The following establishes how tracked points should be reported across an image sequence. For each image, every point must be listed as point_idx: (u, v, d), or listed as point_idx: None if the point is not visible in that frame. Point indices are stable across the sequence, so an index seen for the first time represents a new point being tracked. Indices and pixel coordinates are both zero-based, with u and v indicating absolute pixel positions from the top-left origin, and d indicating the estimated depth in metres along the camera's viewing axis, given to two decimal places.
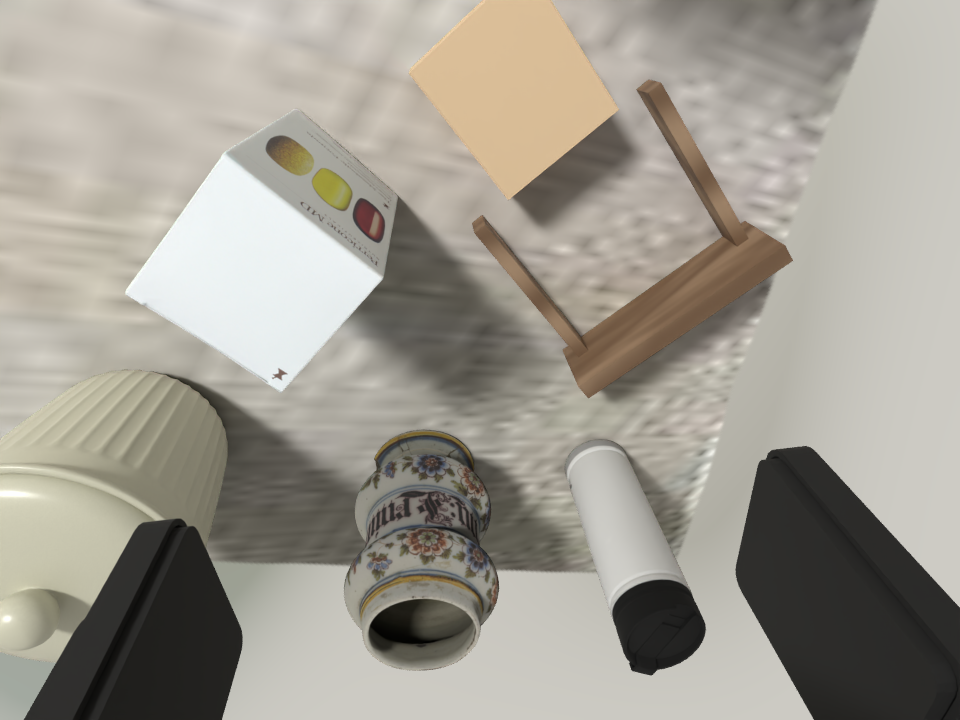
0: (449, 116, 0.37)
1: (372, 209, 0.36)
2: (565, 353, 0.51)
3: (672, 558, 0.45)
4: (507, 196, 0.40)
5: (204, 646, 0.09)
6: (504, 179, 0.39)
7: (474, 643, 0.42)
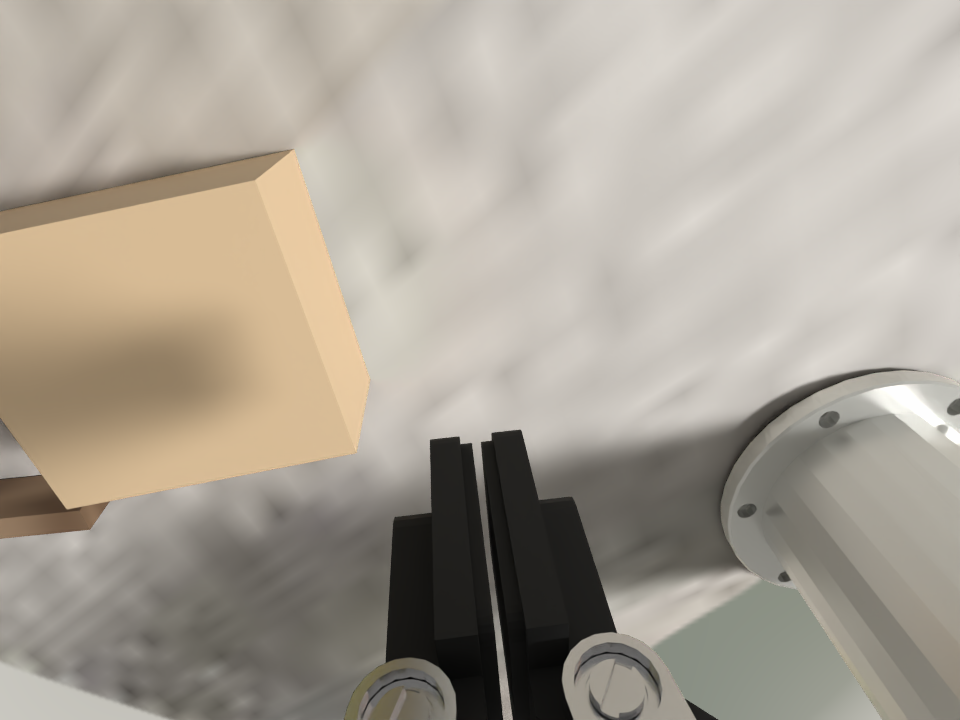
0: (132, 219, 0.15)
1: None
2: None
3: None
4: None
5: None
6: None
7: None
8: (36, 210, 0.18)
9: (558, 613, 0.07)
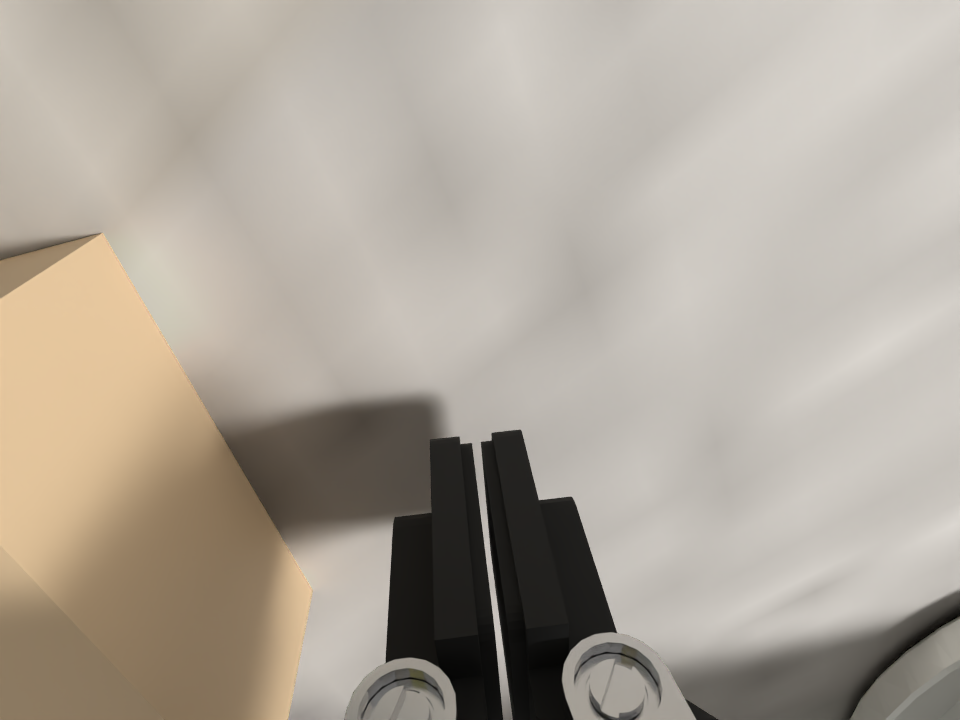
0: None
1: None
2: None
3: None
4: None
5: None
6: None
7: None
8: None
9: (558, 613, 0.07)
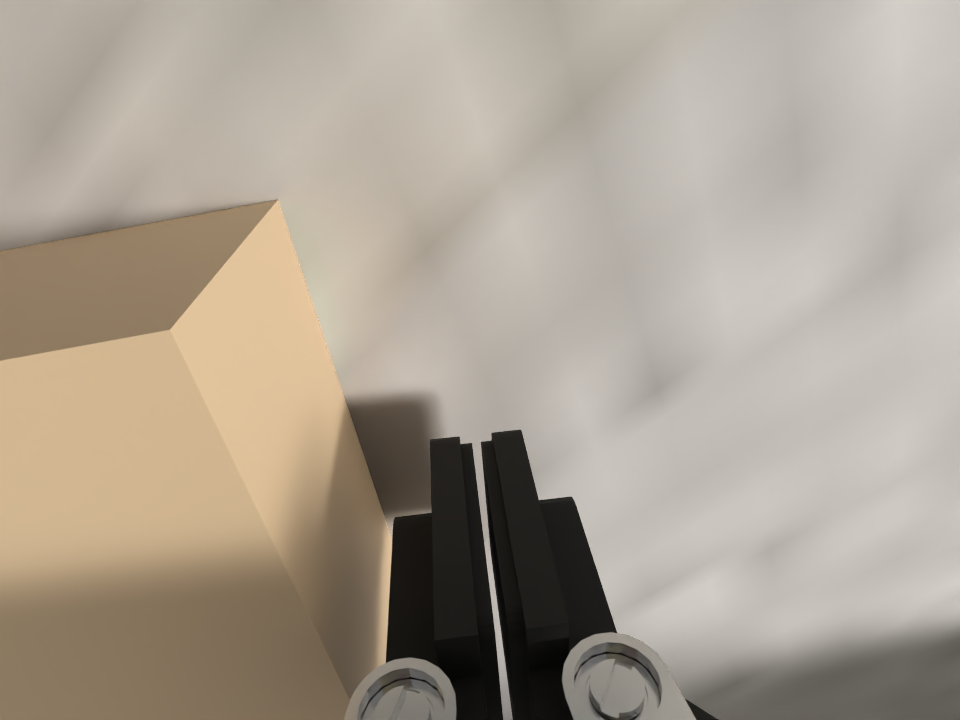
0: None
1: None
2: None
3: None
4: None
5: None
6: None
7: None
8: None
9: (558, 613, 0.07)
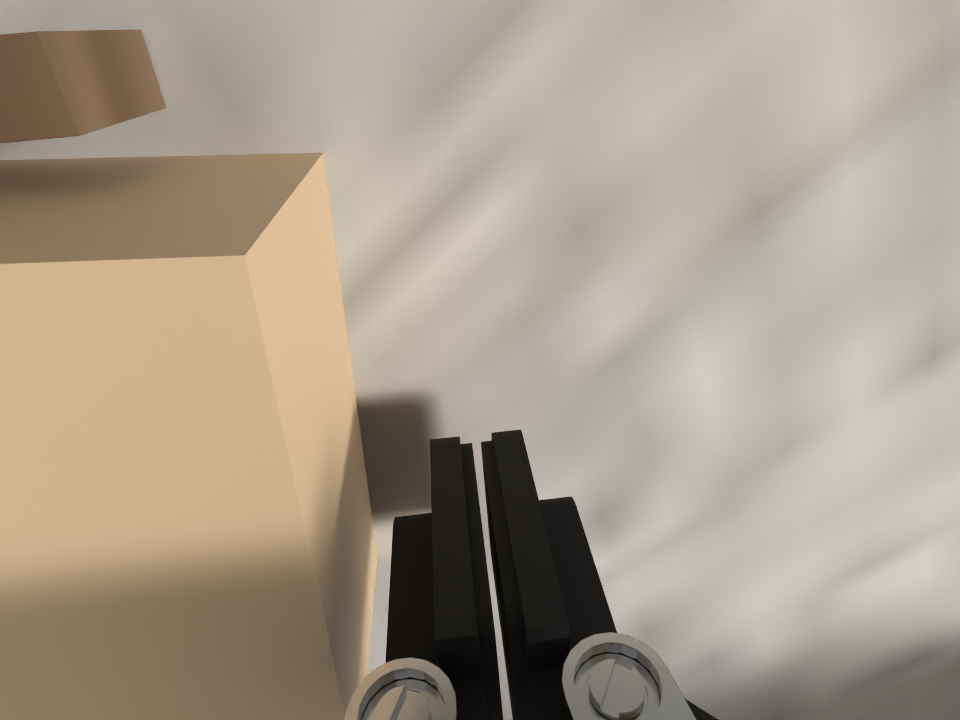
0: None
1: None
2: None
3: None
4: None
5: None
6: None
7: None
8: None
9: (558, 613, 0.07)
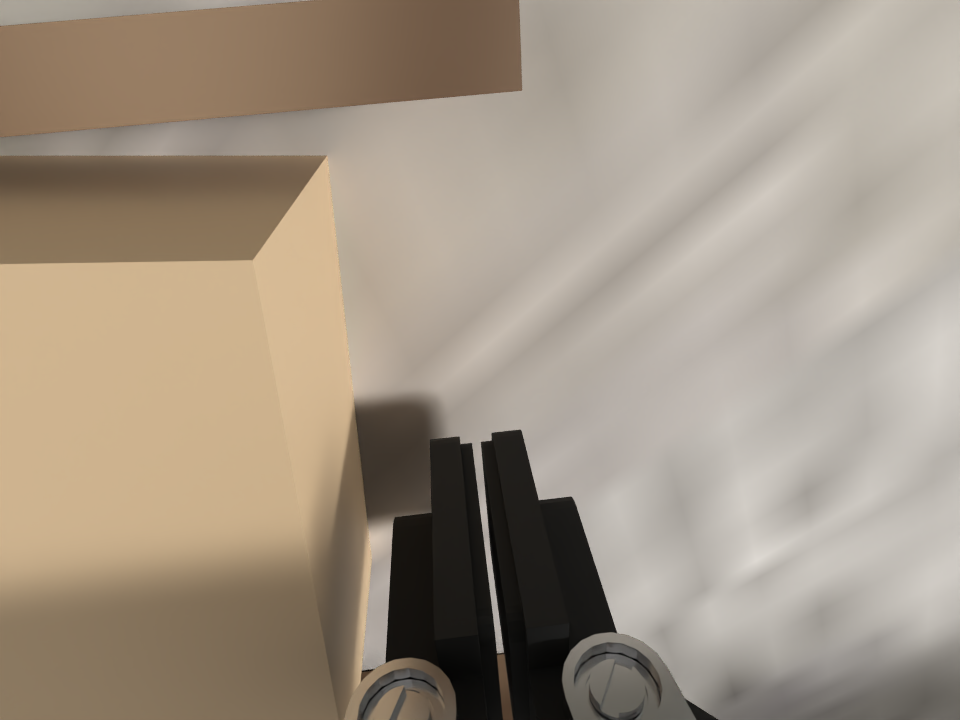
0: None
1: None
2: None
3: None
4: None
5: None
6: None
7: None
8: None
9: (558, 613, 0.07)
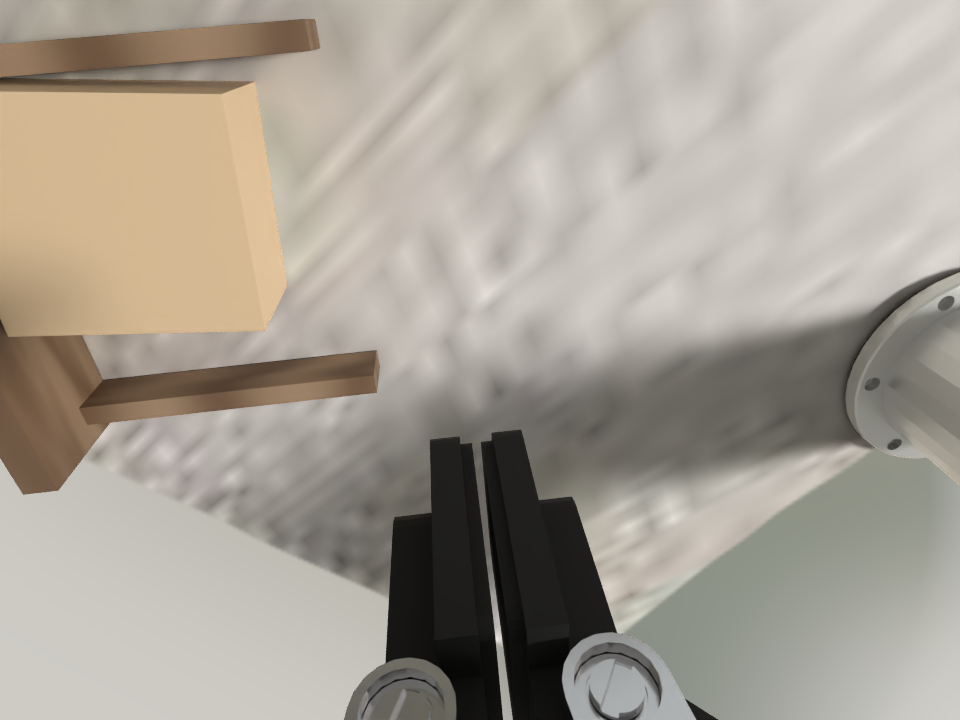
0: (117, 103, 0.20)
1: None
2: None
3: None
4: None
5: None
6: None
7: None
8: (29, 82, 0.22)
9: (558, 613, 0.07)
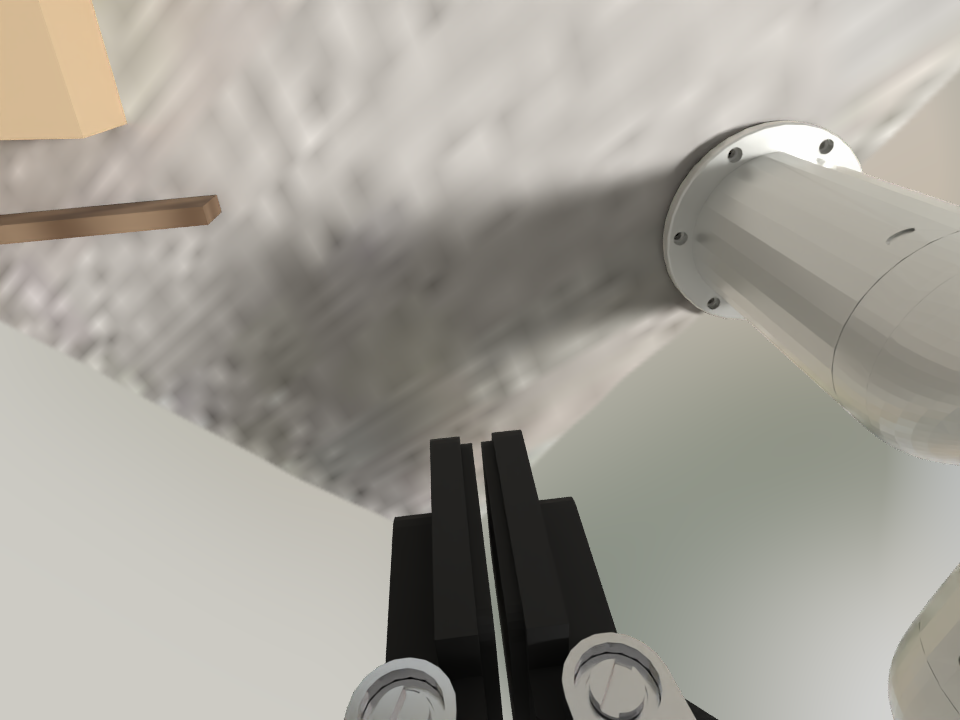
0: None
1: None
2: None
3: None
4: None
5: None
6: None
7: None
8: None
9: (558, 613, 0.07)
